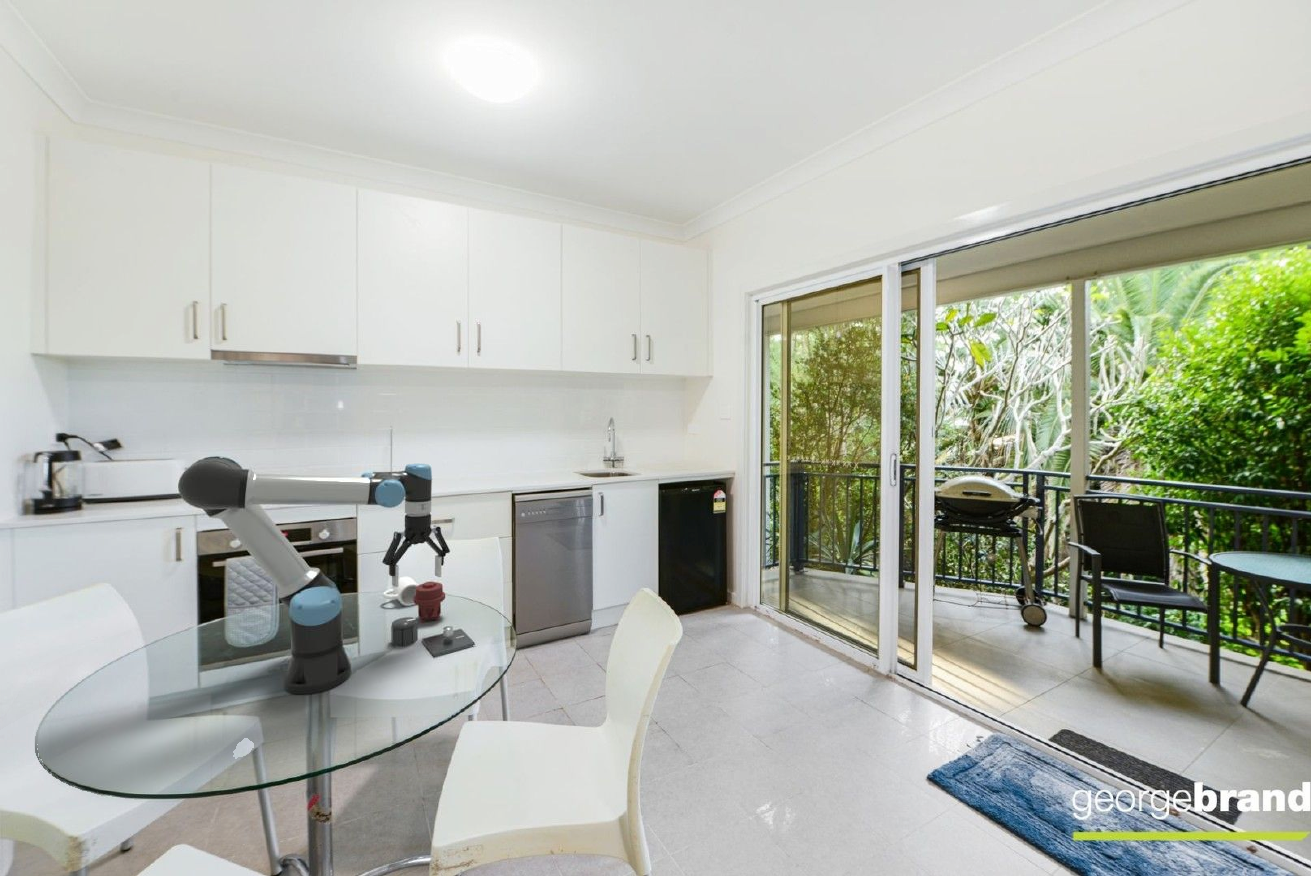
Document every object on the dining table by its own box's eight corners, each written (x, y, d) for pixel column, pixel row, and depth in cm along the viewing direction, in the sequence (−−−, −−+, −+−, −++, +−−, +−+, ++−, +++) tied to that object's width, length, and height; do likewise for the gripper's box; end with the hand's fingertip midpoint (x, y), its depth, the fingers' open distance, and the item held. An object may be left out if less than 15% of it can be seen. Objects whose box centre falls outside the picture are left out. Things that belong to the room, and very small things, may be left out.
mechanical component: (423, 611, 189) (450, 613, 188) (407, 623, 179) (436, 625, 178) (422, 577, 188) (450, 579, 187) (406, 587, 178) (435, 589, 177)
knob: (395, 648, 162) (394, 628, 162) (389, 639, 168) (389, 620, 167) (419, 641, 167) (419, 622, 166) (413, 633, 172) (413, 614, 172)
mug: (414, 594, 204) (414, 574, 203) (423, 603, 196) (422, 582, 196) (380, 602, 196) (379, 581, 196) (387, 611, 189) (386, 589, 188)
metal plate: (434, 657, 157) (433, 640, 157) (422, 641, 167) (421, 626, 166) (474, 645, 165) (474, 629, 164) (461, 631, 174) (460, 616, 174)
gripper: (381, 521, 155) (381, 593, 157) (461, 510, 174) (460, 574, 176) (370, 517, 160) (370, 587, 162) (449, 506, 179) (448, 569, 181)
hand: (417, 580), depth 169 cm, fingers open, 13 cm apart
